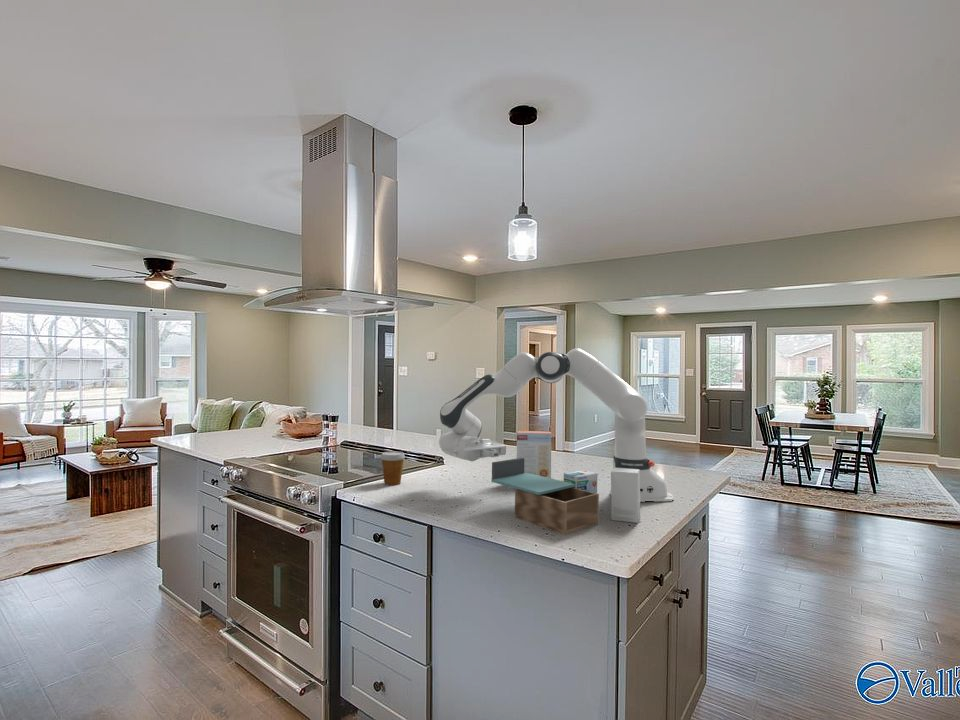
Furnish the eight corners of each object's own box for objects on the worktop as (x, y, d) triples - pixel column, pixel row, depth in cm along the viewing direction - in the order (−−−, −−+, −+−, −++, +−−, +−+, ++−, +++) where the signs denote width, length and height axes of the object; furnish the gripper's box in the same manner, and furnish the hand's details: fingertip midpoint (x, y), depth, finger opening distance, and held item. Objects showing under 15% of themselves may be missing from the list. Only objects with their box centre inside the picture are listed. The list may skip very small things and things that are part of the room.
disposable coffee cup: (384, 480, 206) (385, 450, 206) (407, 481, 204) (407, 451, 204) (376, 485, 196) (377, 454, 196) (400, 487, 195) (401, 455, 195)
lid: (488, 480, 167) (488, 462, 167) (524, 474, 178) (524, 457, 178) (539, 495, 150) (539, 474, 150) (574, 486, 162) (575, 467, 162)
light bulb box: (576, 508, 170) (577, 476, 170) (562, 504, 175) (562, 472, 175) (597, 504, 176) (598, 473, 176) (583, 499, 181) (583, 469, 181)
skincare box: (640, 518, 160) (641, 469, 160) (637, 524, 154) (638, 473, 154) (613, 514, 164) (614, 466, 164) (609, 520, 158) (610, 470, 158)
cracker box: (550, 481, 208) (551, 431, 208) (551, 485, 202) (551, 433, 202) (516, 480, 209) (517, 430, 209) (515, 484, 203) (516, 431, 203)
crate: (514, 517, 158) (515, 488, 159) (548, 508, 169) (548, 481, 169) (564, 534, 143) (565, 502, 144) (598, 523, 154) (598, 493, 154)
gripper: (448, 442, 180) (473, 448, 170) (491, 438, 194) (516, 443, 183) (448, 460, 180) (473, 466, 170) (490, 454, 194) (516, 460, 183)
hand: (496, 454), depth 177 cm, fingers closed
